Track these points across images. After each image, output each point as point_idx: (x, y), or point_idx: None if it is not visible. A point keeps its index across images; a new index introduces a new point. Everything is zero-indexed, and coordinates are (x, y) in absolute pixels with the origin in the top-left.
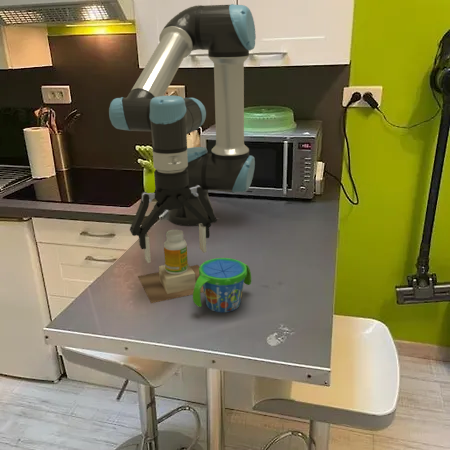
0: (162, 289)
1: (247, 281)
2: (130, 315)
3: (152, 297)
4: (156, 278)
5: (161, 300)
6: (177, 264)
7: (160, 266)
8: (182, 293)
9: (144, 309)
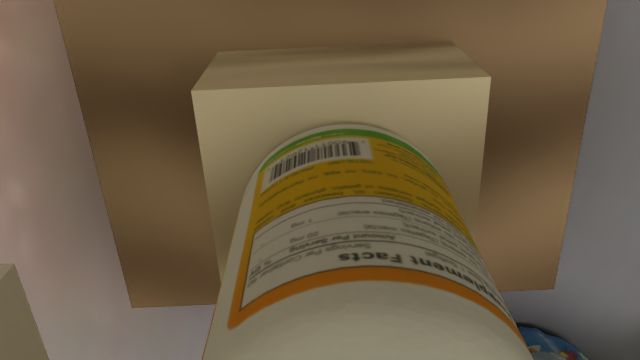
0: None
1: None
2: None
3: (143, 257)
4: (195, 3)
5: (196, 299)
6: None
7: (207, 102)
8: None
9: (100, 290)
